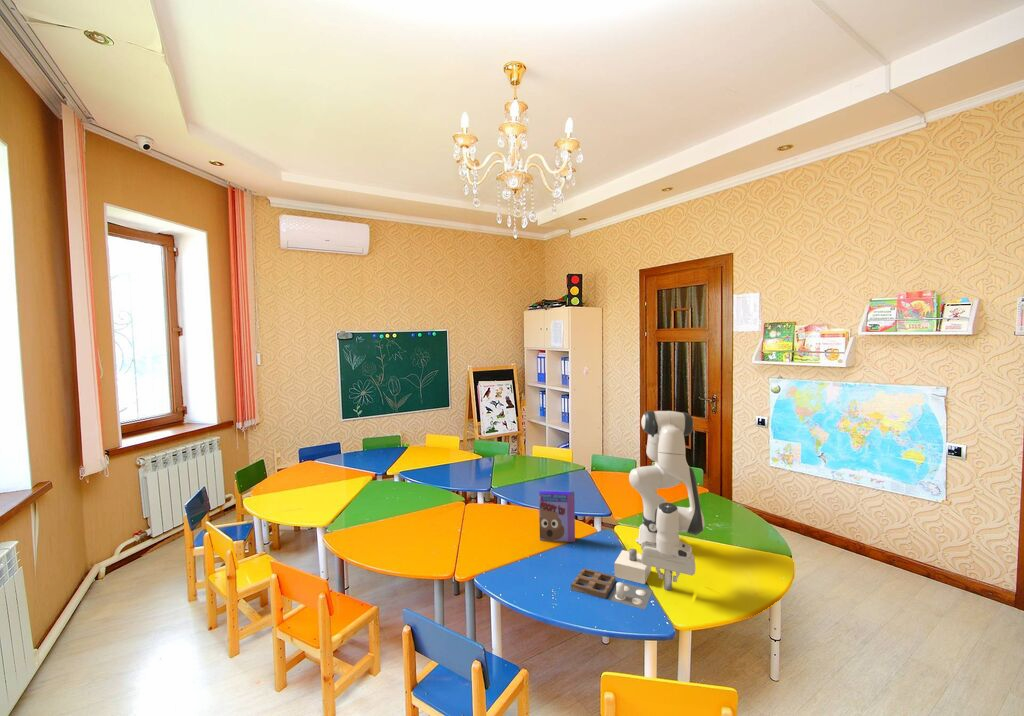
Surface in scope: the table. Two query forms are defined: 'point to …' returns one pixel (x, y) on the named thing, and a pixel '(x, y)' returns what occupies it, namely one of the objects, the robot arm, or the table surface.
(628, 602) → the board
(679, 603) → the table surface
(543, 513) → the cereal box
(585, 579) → the socket board
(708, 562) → the table surface
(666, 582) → the steel pin
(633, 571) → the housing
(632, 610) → the table surface
